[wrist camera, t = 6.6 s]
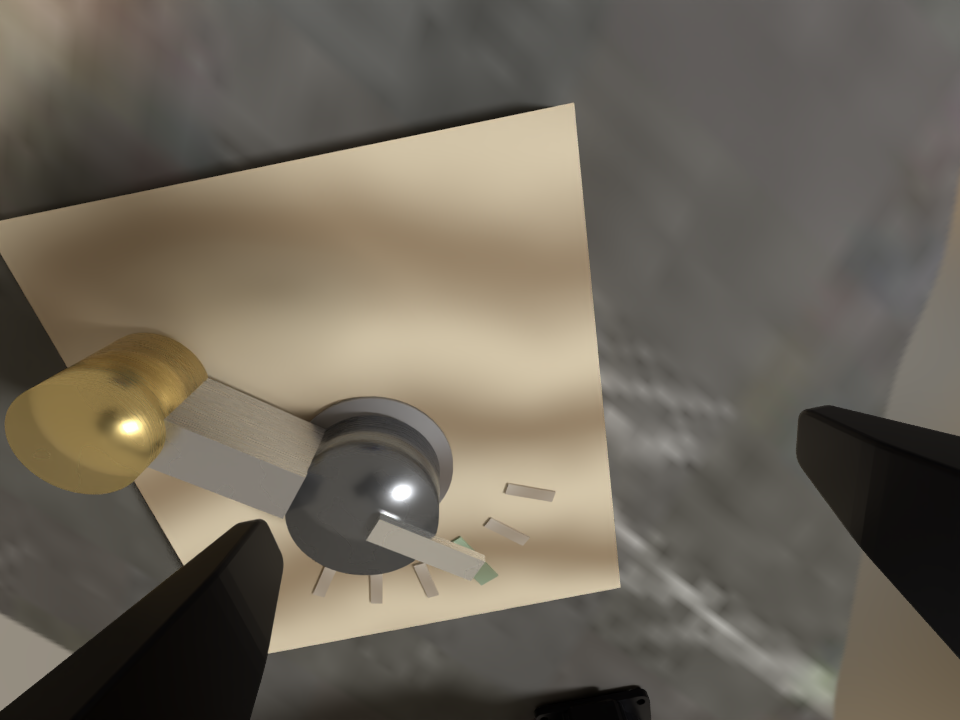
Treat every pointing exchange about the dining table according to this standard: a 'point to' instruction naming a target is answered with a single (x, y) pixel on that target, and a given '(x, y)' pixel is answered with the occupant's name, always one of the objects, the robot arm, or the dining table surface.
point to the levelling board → (373, 345)
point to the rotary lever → (239, 455)
